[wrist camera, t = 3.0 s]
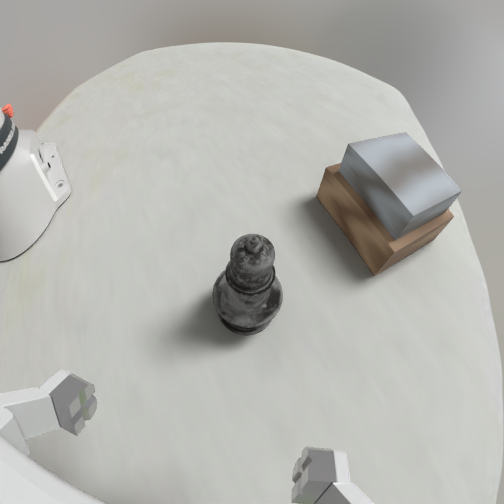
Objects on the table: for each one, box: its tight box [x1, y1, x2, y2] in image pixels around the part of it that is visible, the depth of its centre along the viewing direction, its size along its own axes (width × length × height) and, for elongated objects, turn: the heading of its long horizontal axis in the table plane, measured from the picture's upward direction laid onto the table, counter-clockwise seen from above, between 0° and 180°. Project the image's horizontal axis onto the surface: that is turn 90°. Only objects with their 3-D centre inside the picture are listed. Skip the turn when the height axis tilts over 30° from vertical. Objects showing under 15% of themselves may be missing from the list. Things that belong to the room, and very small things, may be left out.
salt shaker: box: [213, 234, 283, 335], centre depth 23 cm, size 6×6×12 cm
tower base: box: [316, 132, 462, 276], centre depth 31 cm, size 12×12×9 cm
